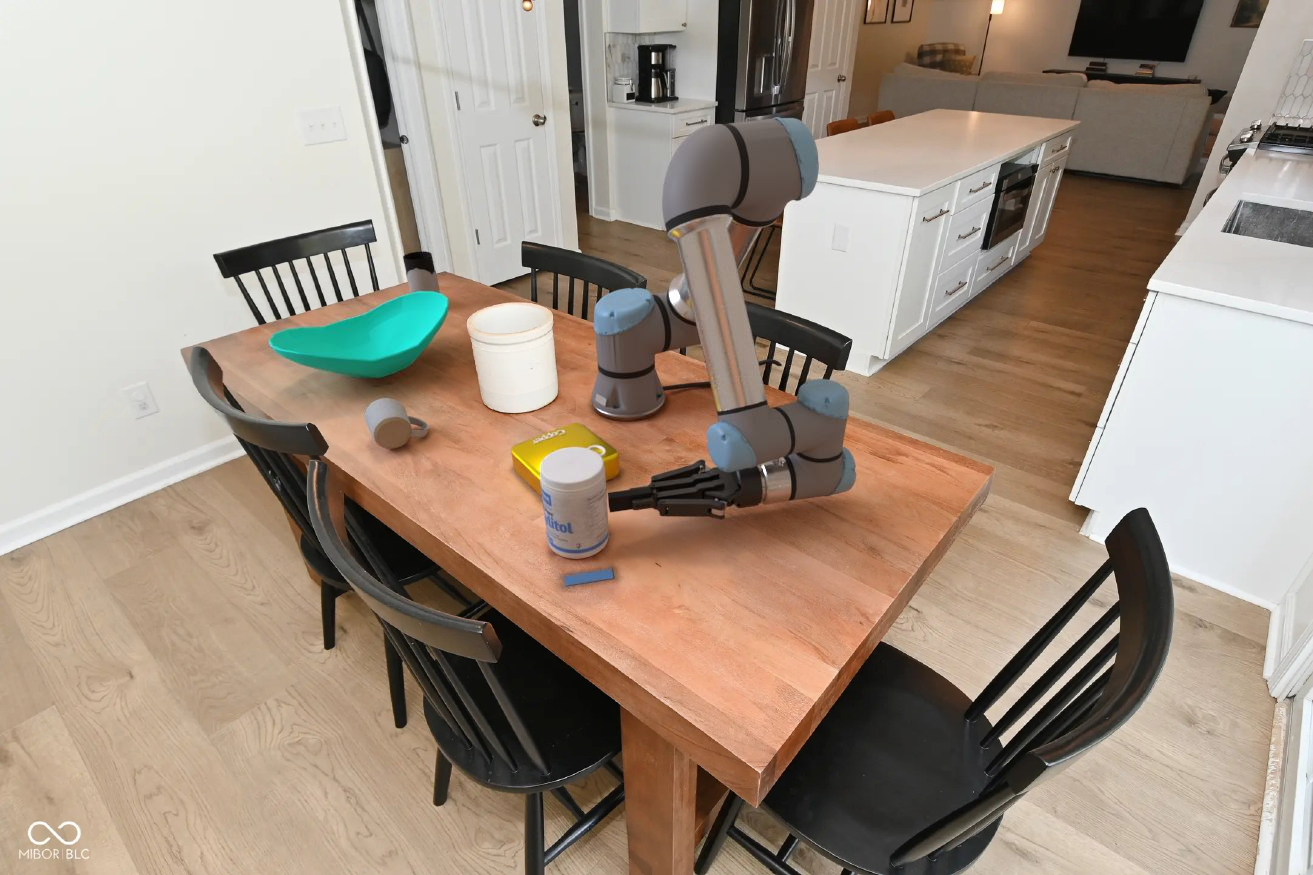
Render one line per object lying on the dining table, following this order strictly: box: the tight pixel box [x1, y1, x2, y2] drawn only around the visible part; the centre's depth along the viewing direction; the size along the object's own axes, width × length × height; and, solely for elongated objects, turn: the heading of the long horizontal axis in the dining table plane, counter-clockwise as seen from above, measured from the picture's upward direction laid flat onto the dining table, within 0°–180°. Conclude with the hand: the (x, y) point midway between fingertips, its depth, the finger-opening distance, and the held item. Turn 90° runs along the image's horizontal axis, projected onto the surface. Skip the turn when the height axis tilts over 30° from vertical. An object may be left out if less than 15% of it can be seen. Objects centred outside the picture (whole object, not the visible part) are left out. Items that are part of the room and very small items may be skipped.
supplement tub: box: [540, 447, 610, 560], centre depth 103 cm, size 10×10×15 cm
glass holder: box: [402, 250, 441, 294], centre depth 190 cm, size 9×14×15 cm, turn 5°
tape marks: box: [564, 568, 615, 587], centre depth 107 cm, size 7×19×1 cm, turn 11°
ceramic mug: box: [364, 397, 429, 450], centre depth 131 cm, size 11×8×8 cm
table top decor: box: [268, 291, 450, 380], centre depth 155 cm, size 40×28×13 cm
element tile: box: [510, 422, 620, 498], centre depth 121 cm, size 15×15×5 cm
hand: (609, 502), depth 104 cm, fingers closed
